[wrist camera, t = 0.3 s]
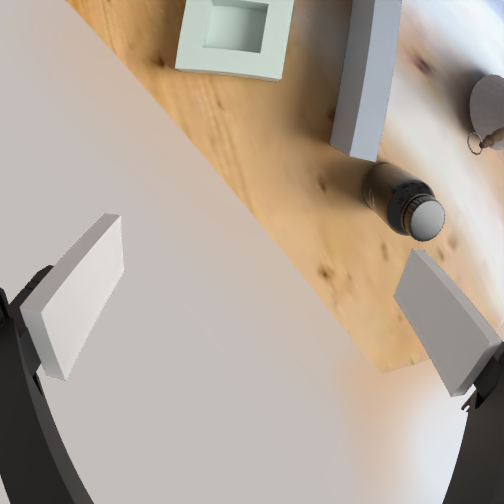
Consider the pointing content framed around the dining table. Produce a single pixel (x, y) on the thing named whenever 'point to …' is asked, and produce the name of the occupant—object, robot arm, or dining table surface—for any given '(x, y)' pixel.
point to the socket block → (235, 38)
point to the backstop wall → (366, 77)
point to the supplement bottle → (403, 202)
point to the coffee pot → (488, 112)
